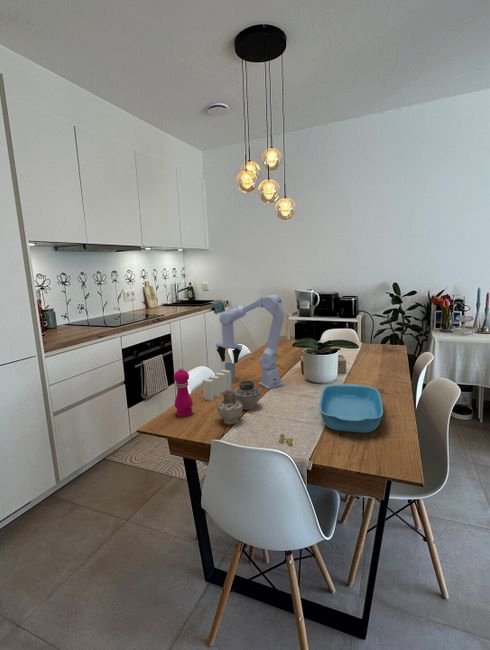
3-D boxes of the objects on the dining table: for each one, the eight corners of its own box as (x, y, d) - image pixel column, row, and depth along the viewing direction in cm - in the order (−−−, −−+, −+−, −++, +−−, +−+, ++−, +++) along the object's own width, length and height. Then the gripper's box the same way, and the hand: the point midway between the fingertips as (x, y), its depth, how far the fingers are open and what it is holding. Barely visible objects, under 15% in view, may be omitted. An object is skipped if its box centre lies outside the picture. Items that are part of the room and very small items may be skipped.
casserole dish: (324, 396, 155) (324, 380, 154) (377, 399, 149) (378, 383, 148) (316, 436, 121) (316, 416, 119) (386, 443, 114) (386, 422, 113)
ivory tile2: (223, 387, 171) (222, 369, 170) (231, 388, 169) (230, 370, 167) (221, 388, 170) (220, 370, 168) (229, 390, 168) (228, 371, 166)
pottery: (211, 424, 133) (209, 394, 131) (241, 400, 155) (240, 374, 153) (238, 429, 128) (236, 398, 126) (265, 403, 150) (264, 376, 148)
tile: (218, 390, 167) (217, 372, 166) (226, 392, 165) (225, 373, 163) (216, 392, 166) (214, 373, 164) (224, 393, 163) (223, 374, 162)
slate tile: (227, 379, 183) (226, 362, 182) (235, 380, 181) (234, 363, 179) (226, 380, 182) (225, 363, 180) (233, 381, 179) (232, 364, 178)
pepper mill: (197, 413, 143) (193, 366, 140) (182, 419, 138) (178, 370, 134) (186, 408, 148) (182, 363, 145) (171, 414, 143) (167, 367, 139)
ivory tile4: (212, 394, 163) (211, 375, 162) (220, 395, 161) (219, 376, 159) (210, 395, 162) (208, 376, 160) (218, 397, 159) (217, 378, 158)
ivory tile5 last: (206, 397, 159) (204, 378, 158) (214, 399, 157) (213, 380, 155) (203, 399, 158) (202, 380, 156) (212, 400, 155) (210, 381, 154)
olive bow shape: (291, 447, 115) (291, 442, 114) (276, 445, 117) (276, 440, 116) (295, 440, 119) (295, 435, 119) (281, 438, 121) (280, 433, 121)
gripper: (244, 335, 177) (245, 361, 179) (220, 333, 184) (222, 358, 186) (237, 338, 171) (238, 365, 173) (212, 336, 178) (214, 362, 181)
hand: (229, 362), depth 179 cm, fingers open, 7 cm apart
